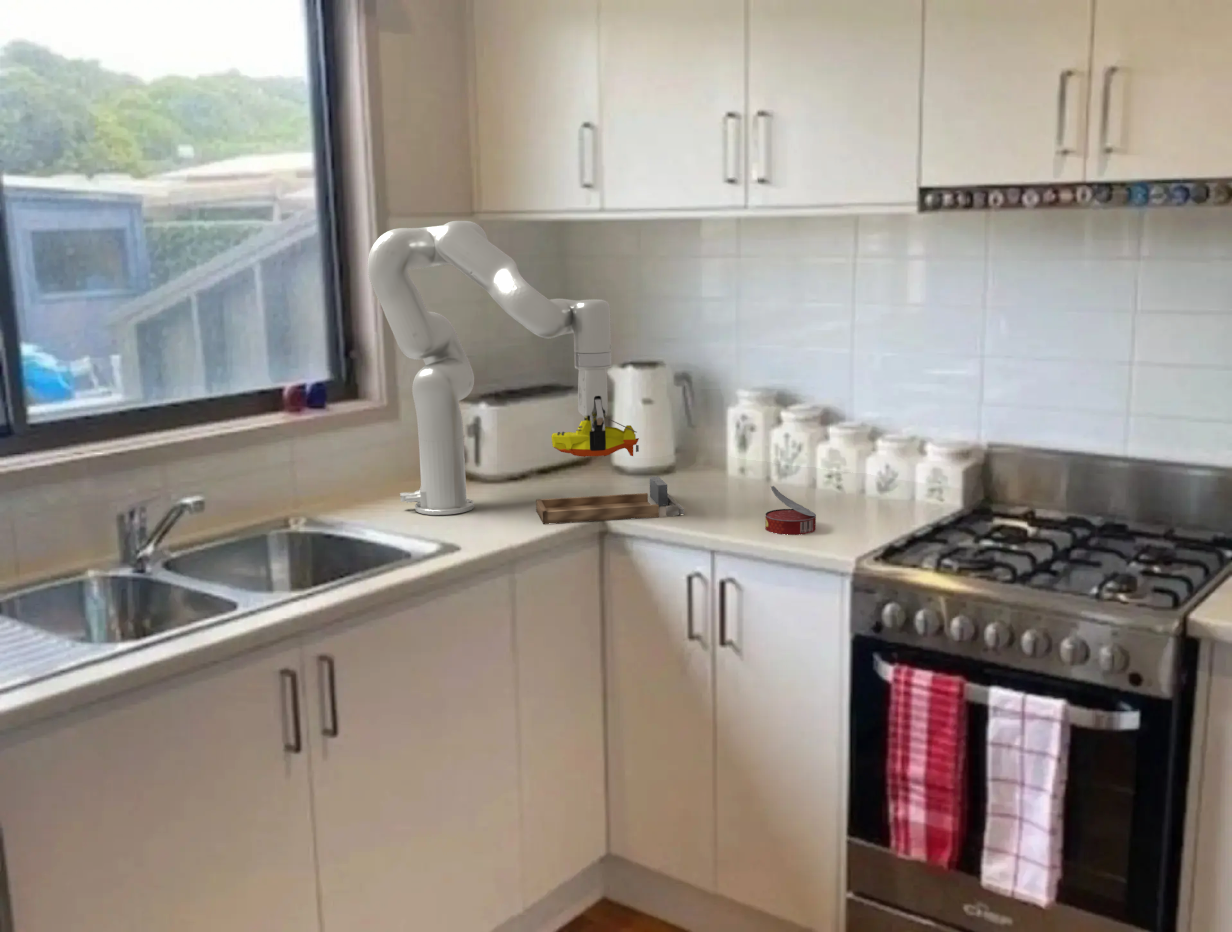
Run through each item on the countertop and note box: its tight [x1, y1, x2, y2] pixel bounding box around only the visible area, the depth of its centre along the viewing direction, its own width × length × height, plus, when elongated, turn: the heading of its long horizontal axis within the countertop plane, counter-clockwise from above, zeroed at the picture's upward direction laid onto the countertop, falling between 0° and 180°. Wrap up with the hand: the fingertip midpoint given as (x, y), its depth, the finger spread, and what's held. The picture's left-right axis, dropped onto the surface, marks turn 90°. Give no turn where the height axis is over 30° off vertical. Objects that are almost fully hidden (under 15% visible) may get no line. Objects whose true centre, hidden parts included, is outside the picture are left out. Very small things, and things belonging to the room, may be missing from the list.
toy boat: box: [551, 416, 640, 458], centre depth 249 cm, size 6×18×10 cm, turn 89°
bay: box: [535, 492, 685, 525], centre depth 257 cm, size 30×20×2 cm
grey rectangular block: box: [649, 476, 669, 507], centre depth 262 cm, size 2×9×4 cm, turn 10°
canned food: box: [764, 485, 817, 536], centre depth 237 cm, size 11×10×10 cm
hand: (595, 446), depth 250 cm, fingers closed on toy boat, 6 cm apart
